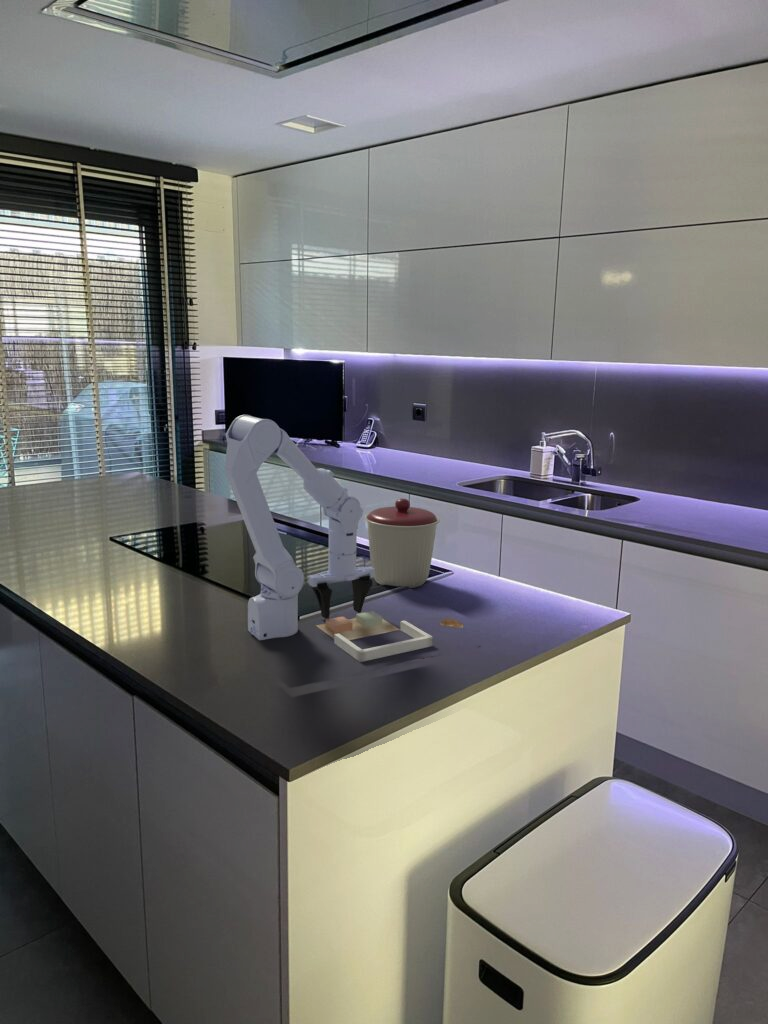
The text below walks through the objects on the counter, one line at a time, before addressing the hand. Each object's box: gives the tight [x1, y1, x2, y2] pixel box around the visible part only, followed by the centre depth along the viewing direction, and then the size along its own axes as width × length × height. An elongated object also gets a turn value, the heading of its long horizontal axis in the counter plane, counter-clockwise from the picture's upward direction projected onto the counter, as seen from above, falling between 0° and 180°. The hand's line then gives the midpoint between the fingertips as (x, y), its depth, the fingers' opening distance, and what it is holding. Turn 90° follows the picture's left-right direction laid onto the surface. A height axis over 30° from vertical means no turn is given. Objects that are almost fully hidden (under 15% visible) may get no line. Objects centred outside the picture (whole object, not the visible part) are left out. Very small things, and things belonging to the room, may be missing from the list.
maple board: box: [315, 617, 401, 641], centre depth 157 cm, size 14×10×1 cm
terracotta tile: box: [325, 615, 353, 633], centre depth 156 cm, size 4×4×2 cm
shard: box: [439, 618, 464, 629], centre depth 164 cm, size 11×8×2 cm
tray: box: [333, 619, 434, 663], centre depth 148 cm, size 16×10×3 cm, turn 121°
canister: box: [364, 498, 441, 589], centre depth 188 cm, size 18×18×21 cm
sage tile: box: [355, 610, 383, 627], centre depth 160 cm, size 4×4×2 cm
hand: (341, 614), depth 162 cm, fingers open, 7 cm apart
